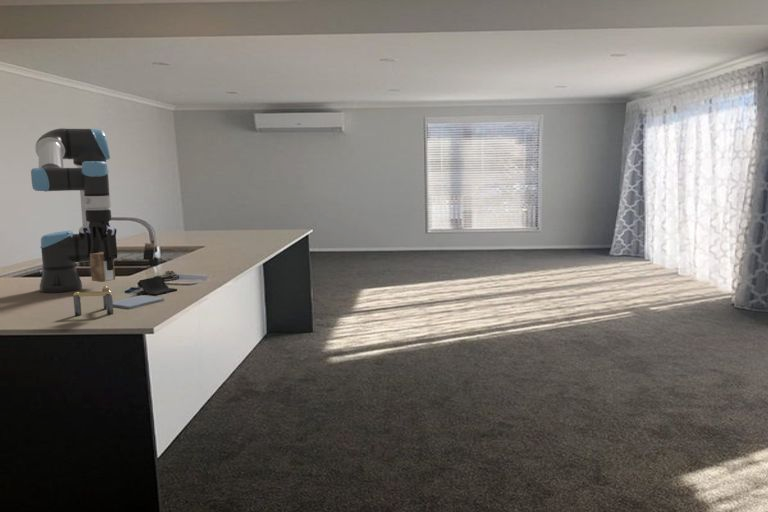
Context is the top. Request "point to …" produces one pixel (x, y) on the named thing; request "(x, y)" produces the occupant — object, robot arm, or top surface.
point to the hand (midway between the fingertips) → (103, 279)
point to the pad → (136, 301)
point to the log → (169, 276)
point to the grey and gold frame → (106, 295)
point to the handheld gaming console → (155, 286)
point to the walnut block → (98, 267)
